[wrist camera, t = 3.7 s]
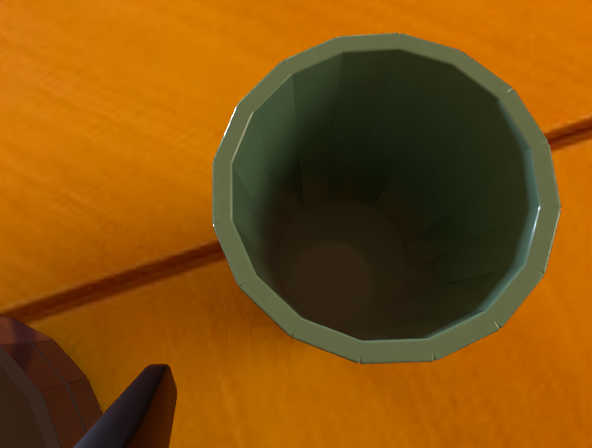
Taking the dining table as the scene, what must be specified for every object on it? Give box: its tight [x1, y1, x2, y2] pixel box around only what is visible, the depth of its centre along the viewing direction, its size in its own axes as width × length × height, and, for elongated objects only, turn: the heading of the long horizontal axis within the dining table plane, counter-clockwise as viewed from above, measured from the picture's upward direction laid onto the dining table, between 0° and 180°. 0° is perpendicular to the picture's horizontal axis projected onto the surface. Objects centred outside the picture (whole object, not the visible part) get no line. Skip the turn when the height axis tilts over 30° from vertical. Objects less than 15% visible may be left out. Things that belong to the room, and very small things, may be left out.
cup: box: [212, 33, 561, 364], centre depth 14 cm, size 7×7×12 cm
